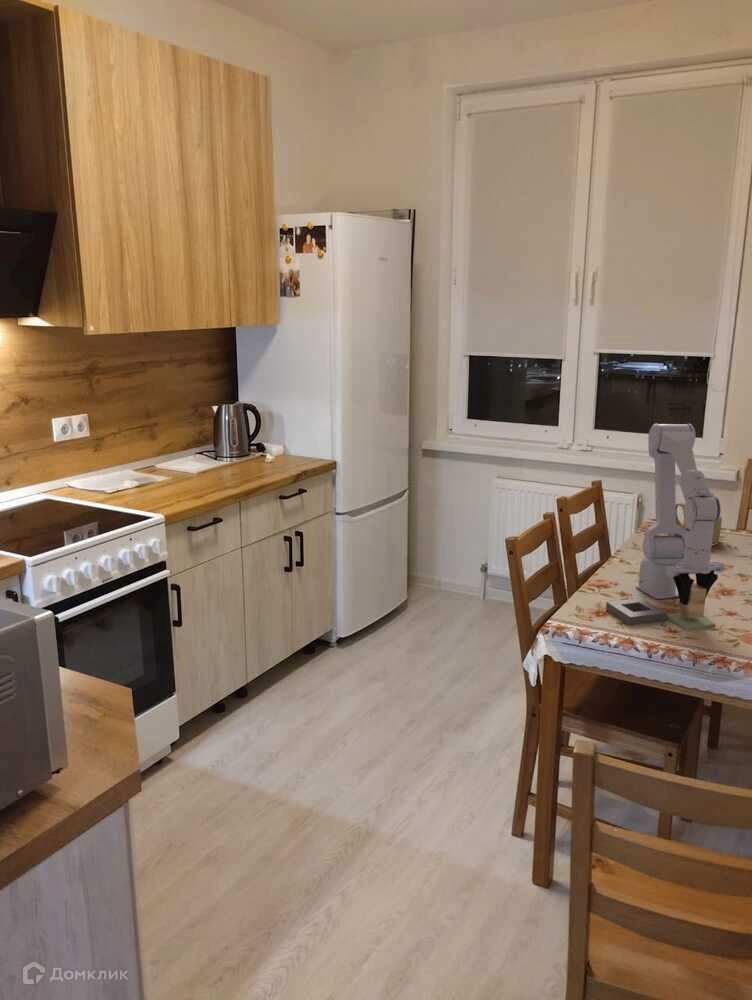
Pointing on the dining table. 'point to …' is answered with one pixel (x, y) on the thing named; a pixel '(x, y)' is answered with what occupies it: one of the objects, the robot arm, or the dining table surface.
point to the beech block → (694, 603)
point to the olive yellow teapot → (715, 531)
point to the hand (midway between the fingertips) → (691, 602)
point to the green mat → (690, 621)
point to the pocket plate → (643, 616)
